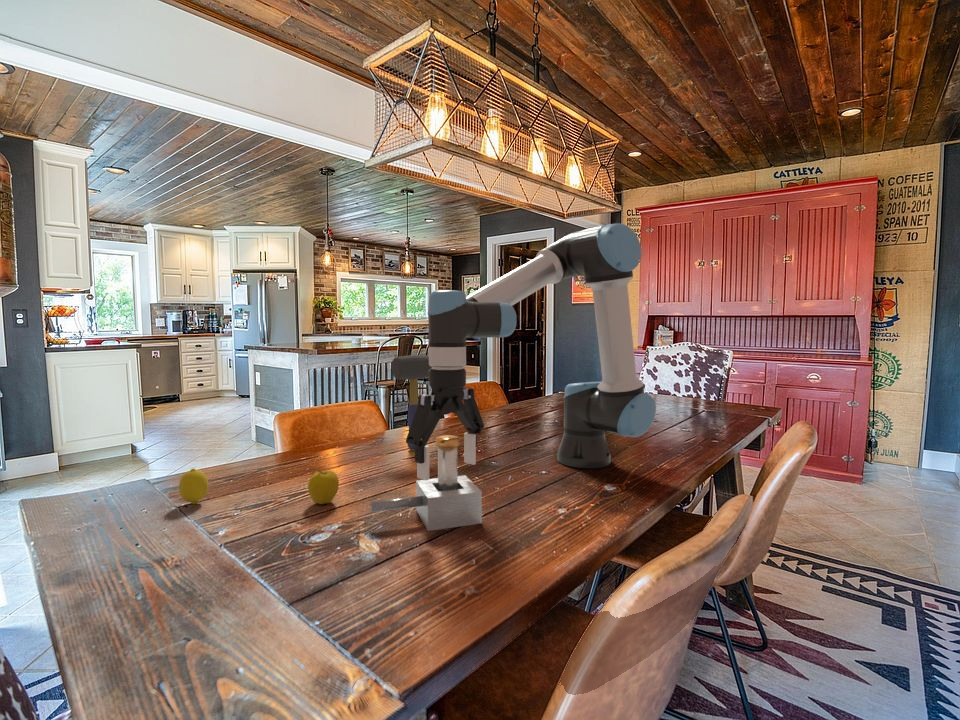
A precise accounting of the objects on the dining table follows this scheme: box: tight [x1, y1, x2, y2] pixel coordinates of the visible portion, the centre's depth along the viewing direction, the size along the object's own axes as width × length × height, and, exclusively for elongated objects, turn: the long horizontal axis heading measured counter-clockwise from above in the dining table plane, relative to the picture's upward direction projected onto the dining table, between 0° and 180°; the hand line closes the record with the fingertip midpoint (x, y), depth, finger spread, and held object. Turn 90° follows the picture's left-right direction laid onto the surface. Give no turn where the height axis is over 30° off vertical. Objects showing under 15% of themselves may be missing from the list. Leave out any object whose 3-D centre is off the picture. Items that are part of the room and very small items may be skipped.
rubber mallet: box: [391, 354, 432, 452], centre depth 151 cm, size 12×8×30 cm, turn 126°
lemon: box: [178, 468, 209, 505], centre depth 107 cm, size 6×6×8 cm
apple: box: [307, 470, 340, 505], centre depth 107 cm, size 6×6×8 cm
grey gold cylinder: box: [435, 434, 460, 492], centre depth 100 cm, size 5×5×14 cm
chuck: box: [370, 475, 483, 532], centre depth 98 cm, size 21×11×6 cm, turn 109°
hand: (447, 470), depth 100 cm, fingers open, 13 cm apart
